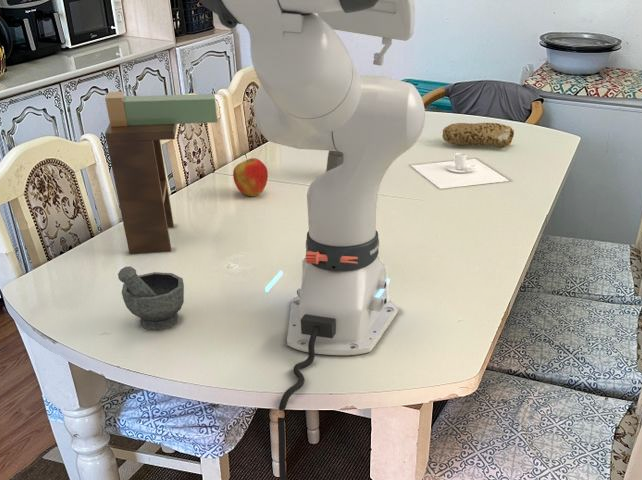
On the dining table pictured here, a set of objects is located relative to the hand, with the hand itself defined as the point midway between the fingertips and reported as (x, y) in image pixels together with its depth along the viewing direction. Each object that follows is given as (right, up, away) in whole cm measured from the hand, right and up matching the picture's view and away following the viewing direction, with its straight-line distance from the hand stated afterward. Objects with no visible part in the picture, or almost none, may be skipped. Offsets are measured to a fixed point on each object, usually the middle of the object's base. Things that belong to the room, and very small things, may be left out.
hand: (351, 60), depth 122 cm
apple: (-28, -13, +48) cm, 57 cm away
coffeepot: (-6, -6, +61) cm, 61 cm away
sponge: (+31, +11, +88) cm, 94 cm away
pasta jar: (-37, -7, +12) cm, 40 cm away
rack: (-41, -27, +25) cm, 55 cm away
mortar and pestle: (-32, -47, -5) cm, 57 cm away
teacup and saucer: (+24, -3, +66) cm, 70 cm away
